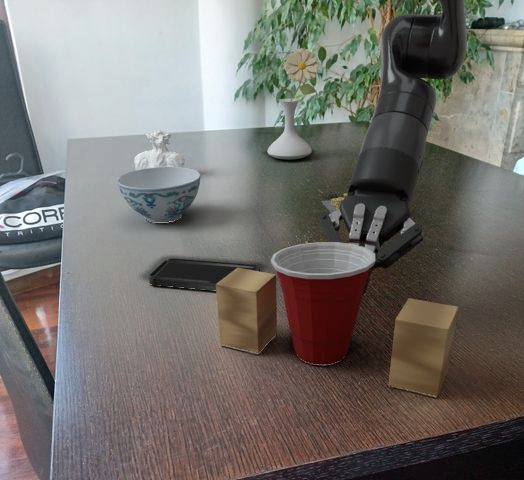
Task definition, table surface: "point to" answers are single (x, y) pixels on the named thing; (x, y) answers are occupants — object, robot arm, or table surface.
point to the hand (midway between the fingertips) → (350, 295)
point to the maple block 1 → (247, 309)
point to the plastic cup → (322, 295)
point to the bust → (158, 153)
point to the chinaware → (160, 191)
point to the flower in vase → (301, 70)
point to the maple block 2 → (422, 345)
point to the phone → (194, 273)
